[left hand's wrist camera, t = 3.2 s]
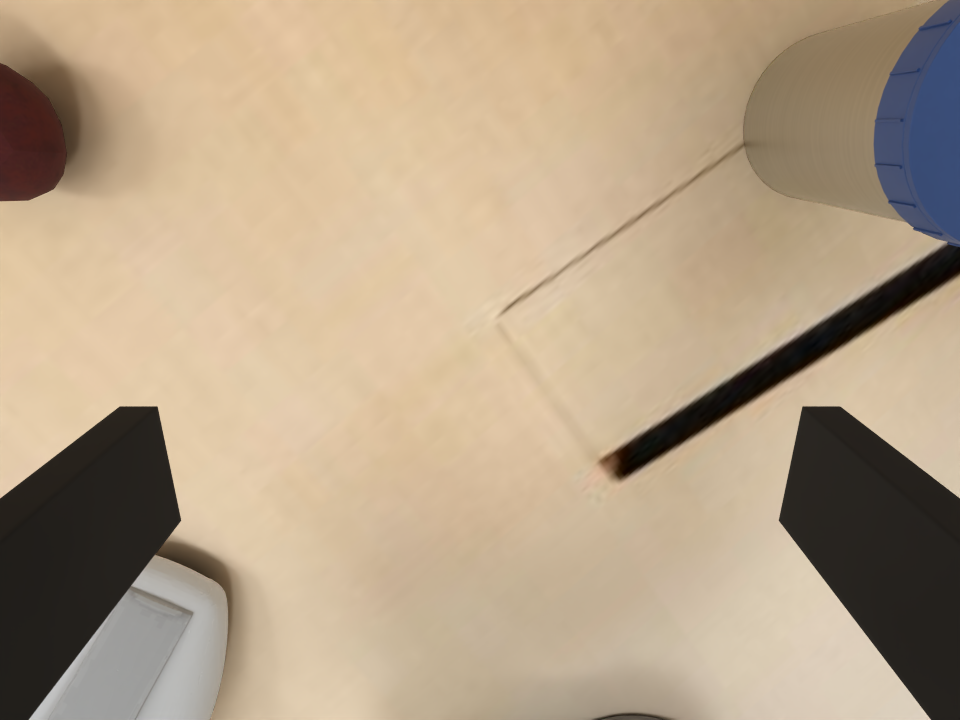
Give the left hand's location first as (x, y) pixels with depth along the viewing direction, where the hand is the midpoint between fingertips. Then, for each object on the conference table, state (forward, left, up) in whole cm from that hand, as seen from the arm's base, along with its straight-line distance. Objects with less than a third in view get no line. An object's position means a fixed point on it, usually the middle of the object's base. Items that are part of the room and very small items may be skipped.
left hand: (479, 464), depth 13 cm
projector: (-34, +29, -28) cm, 53 cm away
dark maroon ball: (+6, +27, -28) cm, 39 cm away
